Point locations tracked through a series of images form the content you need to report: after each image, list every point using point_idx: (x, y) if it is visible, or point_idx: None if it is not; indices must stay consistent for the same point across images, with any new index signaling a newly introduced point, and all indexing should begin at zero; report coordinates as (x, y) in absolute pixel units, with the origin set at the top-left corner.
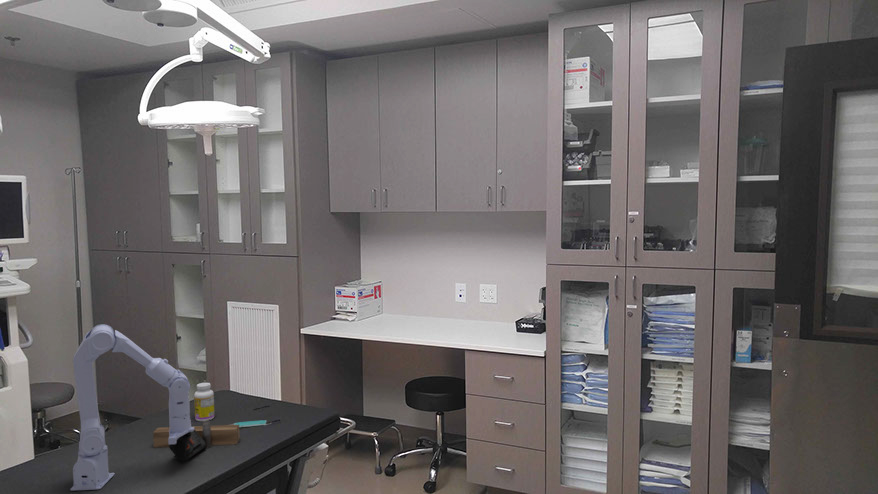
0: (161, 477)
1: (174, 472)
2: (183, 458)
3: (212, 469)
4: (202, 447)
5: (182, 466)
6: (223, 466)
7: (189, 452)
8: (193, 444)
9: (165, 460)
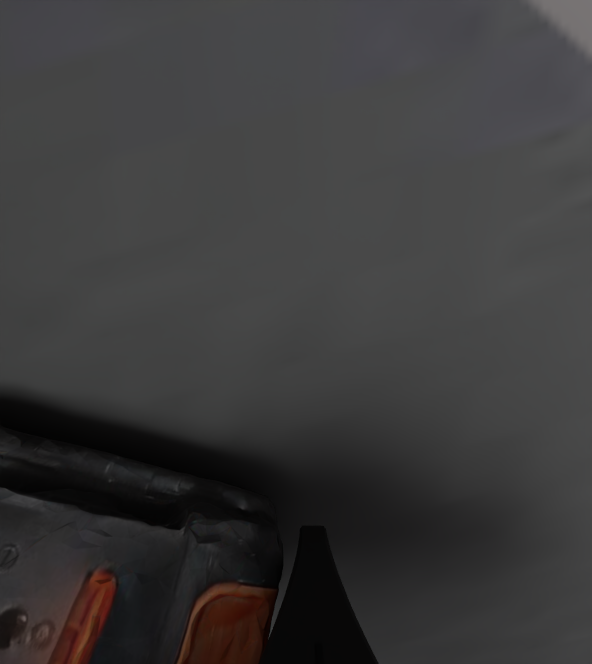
0: (525, 569)
1: (456, 512)
2: (325, 534)
3: (475, 195)
4: (18, 433)
5: (346, 486)
6: (419, 78)
7: (256, 529)
8: (113, 562)
9: None
